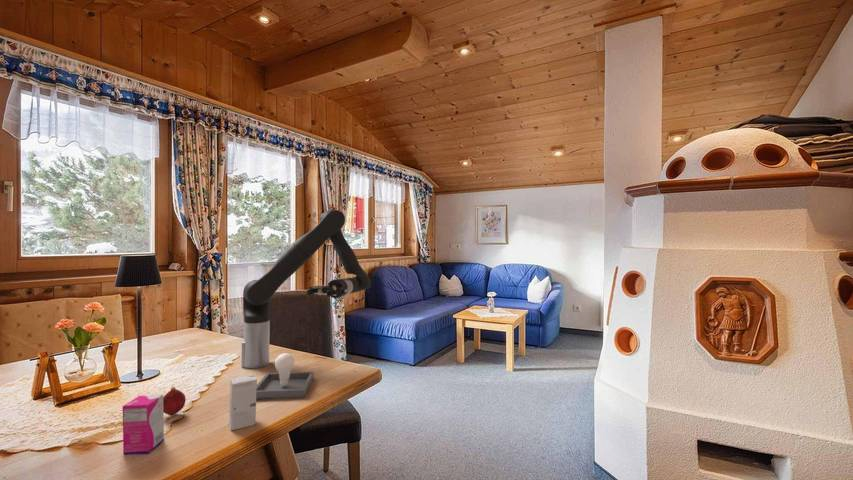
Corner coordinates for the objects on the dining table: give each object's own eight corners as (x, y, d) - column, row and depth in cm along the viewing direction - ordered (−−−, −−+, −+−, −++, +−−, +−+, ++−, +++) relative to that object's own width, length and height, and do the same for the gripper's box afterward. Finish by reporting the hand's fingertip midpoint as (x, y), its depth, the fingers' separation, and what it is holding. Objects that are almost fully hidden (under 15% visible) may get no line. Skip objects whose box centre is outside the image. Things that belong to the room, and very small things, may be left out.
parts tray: (250, 400, 112) (250, 392, 112) (266, 380, 128) (267, 373, 128) (304, 397, 114) (304, 389, 114) (313, 378, 130) (313, 371, 130)
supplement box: (139, 441, 89) (139, 394, 89) (164, 440, 89) (165, 393, 89) (121, 455, 83) (121, 405, 83) (148, 454, 83) (149, 404, 83)
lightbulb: (297, 383, 124) (297, 351, 124) (288, 390, 118) (289, 356, 118) (279, 382, 124) (280, 350, 124) (270, 389, 118) (271, 356, 118)
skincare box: (230, 431, 94) (231, 384, 94) (228, 424, 97) (229, 378, 97) (256, 424, 97) (257, 379, 97) (253, 417, 101) (254, 374, 101)
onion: (190, 412, 103) (190, 384, 103) (170, 422, 98) (170, 392, 98) (175, 409, 105) (175, 381, 105) (155, 418, 100) (155, 389, 100)
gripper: (325, 278, 154) (301, 282, 138) (355, 279, 150) (334, 283, 134) (325, 295, 154) (301, 301, 138) (355, 297, 150) (334, 304, 134)
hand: (317, 292), depth 136 cm, fingers open, 8 cm apart
